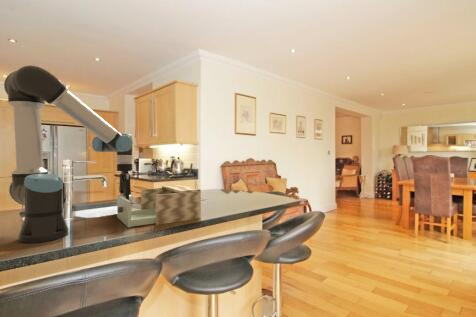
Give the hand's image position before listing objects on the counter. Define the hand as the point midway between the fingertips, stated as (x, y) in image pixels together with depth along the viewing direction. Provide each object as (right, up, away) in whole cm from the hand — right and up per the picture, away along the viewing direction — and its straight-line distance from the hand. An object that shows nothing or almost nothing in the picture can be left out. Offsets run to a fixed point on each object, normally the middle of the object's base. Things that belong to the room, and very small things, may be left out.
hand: (124, 206), depth 143 cm
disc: (0, +4, 0) cm, 4 cm away
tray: (+15, -3, -15) cm, 22 cm away
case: (+25, -4, -8) cm, 27 cm away
